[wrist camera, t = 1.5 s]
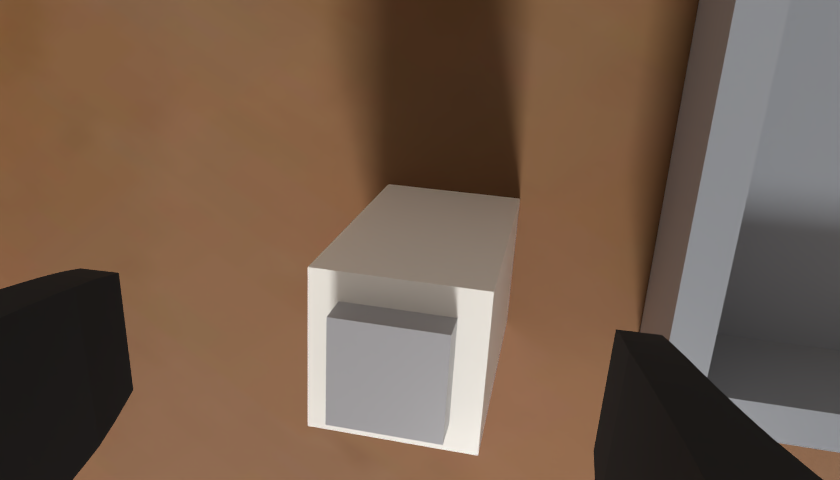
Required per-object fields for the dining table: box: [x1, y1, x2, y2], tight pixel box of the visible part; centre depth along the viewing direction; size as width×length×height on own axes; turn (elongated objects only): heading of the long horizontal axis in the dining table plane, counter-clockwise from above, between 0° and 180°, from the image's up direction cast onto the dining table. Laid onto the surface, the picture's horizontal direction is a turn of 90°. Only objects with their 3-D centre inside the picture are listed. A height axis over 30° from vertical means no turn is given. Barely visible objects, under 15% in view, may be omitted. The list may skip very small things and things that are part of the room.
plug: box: [308, 184, 520, 455], centre depth 18 cm, size 4×4×8 cm
